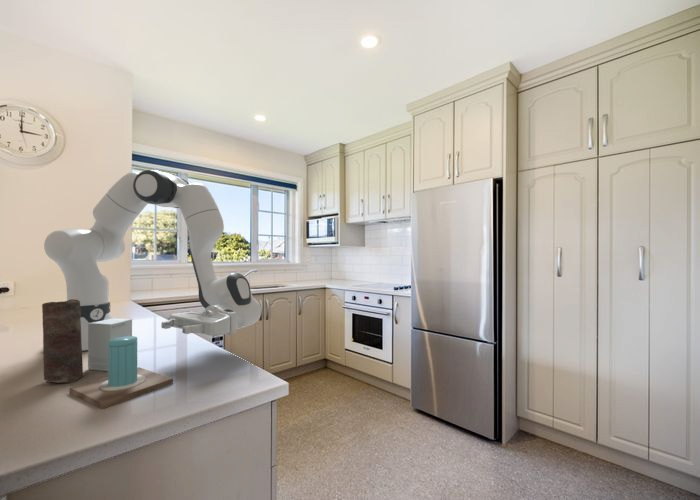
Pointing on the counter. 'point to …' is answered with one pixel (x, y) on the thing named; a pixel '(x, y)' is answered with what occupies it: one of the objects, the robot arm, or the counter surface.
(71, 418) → the counter surface
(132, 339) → the teal lidded canister
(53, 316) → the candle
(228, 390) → the counter surface
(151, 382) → the mount plate
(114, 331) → the supplement box
